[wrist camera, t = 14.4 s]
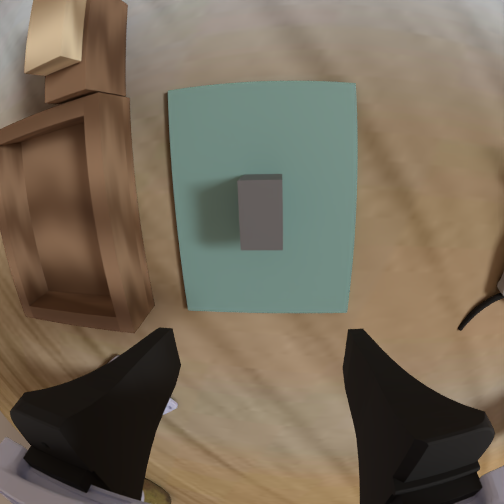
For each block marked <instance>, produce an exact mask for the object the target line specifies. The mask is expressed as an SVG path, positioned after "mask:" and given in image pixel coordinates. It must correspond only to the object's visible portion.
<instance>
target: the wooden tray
mask: <svg viewBox="0 0 504 504" xmlns="http://www.w3.org/2000/svg"><path fill="white" fill-rule="evenodd" d="M127 8H128V5H127V4H126V3H124V2H123V1H121V0H86V8H85V17H84V27H83V39H82V57H81V62H78V63H75V64H73V65H70V66H68V67H65V68H63V69H60V70H58V71H56V72H53V73H51V74H49V75H46V76H45V103H48V104H61V105H58V106H55V107H52V108H50V109H47V110H44V111H42V112H39V113H37V114H34V115H32V116H29V117H27V118H24V119H22V120H20V121H17V122H15V123H13V124H11V125H8V126H6V127H4V128H2V129H0V231H1V235H2V240H3V244H4V248H5V252H6V256H7V260H8V263H9V267H10V270H11V274H12V277H13V280H14V284H15V287H16V290H17V293H18V296H19V299H20V302H21V305H22V307H23V310H24V313H25V315H26V317H31V318H36V319H41V320H47V321H52V322H58V323H64V324H70V325H76V326H83V327H90V328H97V329H104V330H112V331H120V332H129V333H135V332H136V331H137V329H138V328H139V326H140V325H141V324H142V322H143V321H144V320H145V318H146V317H147V315H148V314H149V313H150V311H151V310H152V308H153V307H154V306H155V304H154V300H153V295H152V290H151V284H150V279H149V274H148V268H147V263H146V257H145V251H144V245H143V238H142V231H141V225H140V217H139V210H138V202H137V193H136V184H135V175H134V164H133V152H132V139H131V122H130V98H127V97H124V96H126V83H125V57H126V25H127Z"/></svg>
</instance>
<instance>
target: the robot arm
mask: <svg viewBox="0 0 504 504" xmlns="http://www.w3.org/2000/svg"><path fill="white" fill-rule="evenodd" d="M180 367H181V363H180V359H179V355H178V351H177V347H176V342H175V338H174V334H173V329H172V328H158V329H156V330H155V331H153V332H152V333H151V334H149V335H148V336H146V337H145V338H144V339H142V340H141V341H140V342H138V343H137V344H136V345H134V346H133V347H131V348H130V349H129V350H127V351H126V352H124V353H123V354H121V355H120V356H118V355H117V356H115V357H114V358H113V359H112V360H111V361H109V362H108V363H107V364H106V365H104V366H102V367H101V368H99V369H97V370H95V371H93V372H91V373H89V374H87V375H84V376H82V377H80V378H77V379H75V380H72V381H70V382H67V383H64V384H61V385H58V386H54V387H51V388H46V389H42V390H37V391H31V392H25V393H24V394H23V396H22V397H21V398H20V399H19V401H18V402H17V403H16V404H15V406H14V407H13V408H12V409H11V411H10V415H11V419H12V421H13V423H14V424H15V426H16V427H17V428H18V430H19V431H20V432H21V434H22V435H23V436H24V438H25V439H26V440H27V441H28V443H29V444H30V445H31V447H30V448H29V450H27V449H25V448H24V447H23V446H22V445H20V444H18V443H16V442H15V441H13V440H11V439H9V438H8V437H5V438H4V440H3V441H2V443H1V444H0V493H1V494H2V495H3V496H4V497H6V498H7V499H8V500H9V501H10V502H11V503H13V504H151V503H147V502H144V492H143V484H144V479H145V474H146V469H147V464H148V460H149V455H150V451H151V447H152V444H153V440H154V437H155V433H156V430H157V427H158V425H159V422H160V420H161V418H162V415H164V414H166V413H168V412H170V411H172V410H174V409H176V408H177V406H178V404H177V403H176V402H175V401H174V400H173V399H171V398H170V397H171V395H172V392H173V390H174V388H175V385H176V382H177V378H178V375H179V371H180ZM343 375H344V383H345V390H346V394H347V398H348V403H349V407H350V411H351V415H352V419H353V423H354V428H355V433H356V438H357V448H358V460H359V478H360V504H504V466H502V467H499V468H497V469H495V470H493V471H490V472H488V473H486V474H484V475H483V476H481V477H480V478H479V477H478V474H477V471H479V470H480V465H479V463H478V459H479V458H480V457H481V456H482V454H483V453H484V452H485V451H486V449H487V448H488V447H489V445H490V444H491V442H492V440H493V438H494V435H495V432H494V429H493V427H492V425H491V423H490V421H489V419H488V417H487V415H486V413H485V412H484V411H481V410H478V409H475V408H472V407H469V406H465V405H463V404H460V403H458V402H456V401H453V400H451V399H449V398H447V397H445V396H443V395H441V394H439V393H437V392H436V391H434V390H432V389H430V388H429V387H427V386H425V385H424V384H422V383H421V382H420V381H418V380H417V379H415V378H414V377H413V376H411V375H410V374H409V373H407V372H406V371H405V370H404V369H403V368H401V367H400V366H399V365H398V364H397V363H396V362H395V361H393V360H392V359H391V358H390V357H389V356H388V355H387V354H386V353H385V352H384V351H383V350H382V349H381V348H380V347H379V346H378V345H377V343H376V342H375V341H374V340H373V339H372V338H371V337H370V336H369V335H368V334H367V333H366V332H365V331H364V330H363V329H348V334H347V342H346V349H345V356H344V363H343Z"/></svg>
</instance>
